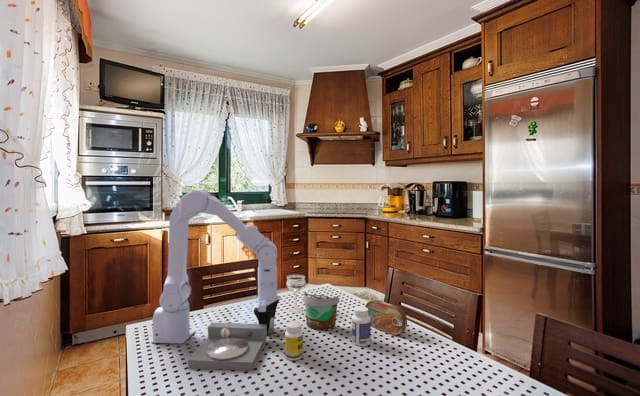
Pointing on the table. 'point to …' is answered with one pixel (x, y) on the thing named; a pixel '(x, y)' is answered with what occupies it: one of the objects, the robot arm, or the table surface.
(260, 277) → the robot arm
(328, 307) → the food container
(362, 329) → the pill bottle
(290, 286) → the wineglass
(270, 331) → the cylinder
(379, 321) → the tin
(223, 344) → the pan
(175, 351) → the table surface
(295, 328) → the supplement bottle
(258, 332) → the scale
